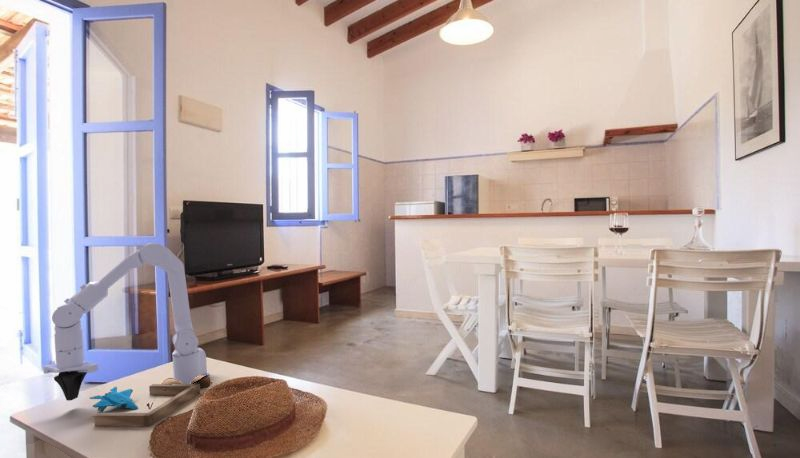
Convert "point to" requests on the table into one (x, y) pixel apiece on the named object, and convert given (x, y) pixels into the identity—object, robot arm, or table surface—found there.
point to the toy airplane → (115, 400)
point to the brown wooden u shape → (147, 419)
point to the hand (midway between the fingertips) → (72, 398)
